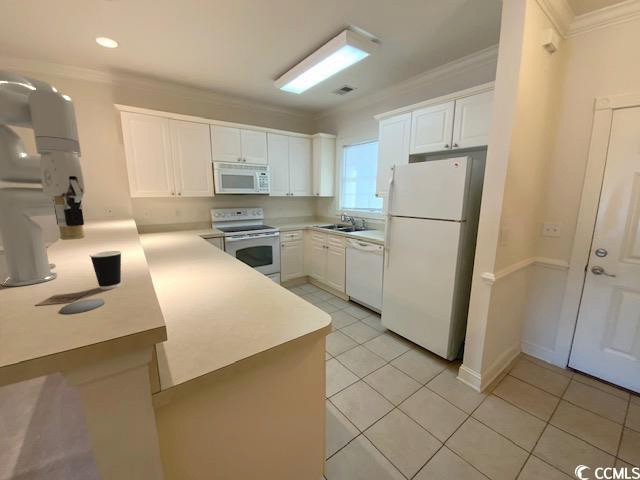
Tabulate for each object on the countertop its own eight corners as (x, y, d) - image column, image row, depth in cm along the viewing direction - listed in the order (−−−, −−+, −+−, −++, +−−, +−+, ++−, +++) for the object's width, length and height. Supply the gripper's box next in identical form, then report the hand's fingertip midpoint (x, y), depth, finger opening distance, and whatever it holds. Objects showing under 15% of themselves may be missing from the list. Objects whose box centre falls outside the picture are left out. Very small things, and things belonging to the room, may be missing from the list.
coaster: (73, 302, 70) (73, 300, 70) (110, 299, 73) (110, 297, 73) (52, 315, 63) (52, 313, 62) (94, 311, 65) (94, 309, 65)
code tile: (55, 295, 76) (55, 294, 76) (88, 292, 78) (88, 291, 78) (35, 306, 68) (34, 305, 68) (72, 302, 71) (72, 301, 71)
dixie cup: (87, 290, 80) (82, 255, 78) (111, 282, 88) (106, 250, 86) (109, 291, 79) (105, 256, 77) (131, 283, 87) (128, 251, 85)
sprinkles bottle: (89, 237, 67) (81, 184, 65) (68, 240, 62) (59, 183, 60) (76, 237, 68) (68, 184, 66) (55, 239, 64) (46, 183, 62)
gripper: (23, 149, 62) (36, 225, 65) (52, 141, 55) (65, 228, 58) (64, 154, 69) (74, 222, 72) (95, 148, 61) (105, 225, 64)
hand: (70, 224), depth 65 cm, fingers closed on sprinkles bottle, 4 cm apart
